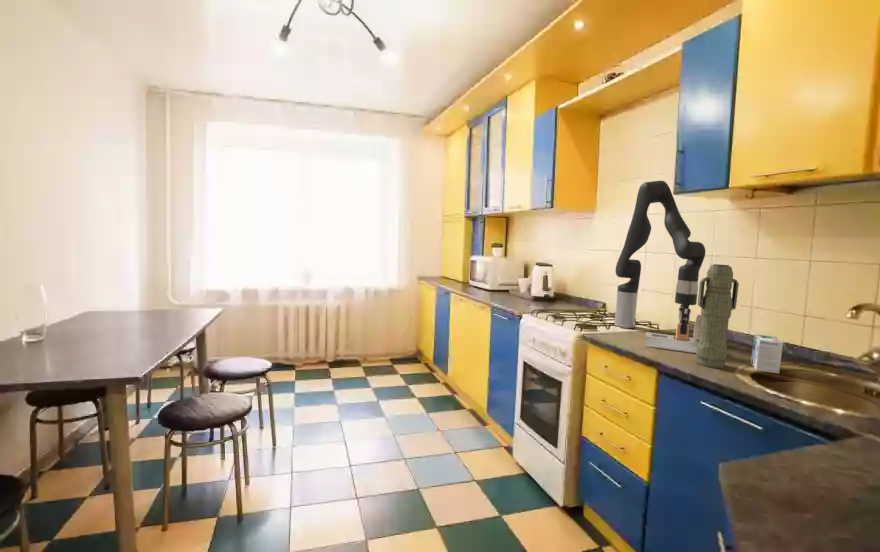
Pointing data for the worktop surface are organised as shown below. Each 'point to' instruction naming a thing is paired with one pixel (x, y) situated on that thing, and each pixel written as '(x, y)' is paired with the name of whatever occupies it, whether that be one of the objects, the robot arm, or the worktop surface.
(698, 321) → the carving
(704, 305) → the thermos
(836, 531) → the worktop surface
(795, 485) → the worktop surface
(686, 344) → the rack rail
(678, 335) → the square peg
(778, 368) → the light bulb box
